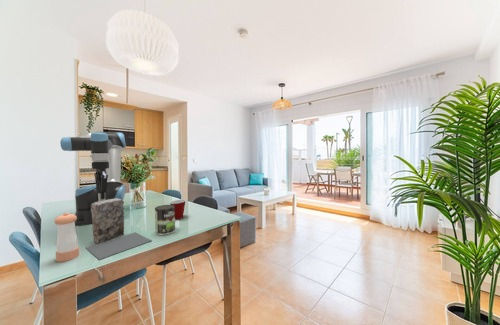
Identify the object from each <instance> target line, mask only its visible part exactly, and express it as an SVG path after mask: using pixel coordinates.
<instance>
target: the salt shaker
mask: <svg viewBox="0 0 500 325" xmlns="http://www.w3.org/2000/svg"><path fill="white" fill-rule="evenodd" d="M76 219H77V217H76V215H75V214H73V213H68V212H64V213H63V214H61V215H59V216H57V217H56V218H55V219H54V225H57V227H56V229H57V235H56V236H57V237H56V243H55V245H56V251H55V261H56V262H57V263H63V262H68V261H70V260H74V259H76V258H77V257H79V256H80V249H79V248H80V247H79V245H78V236H77V233H76V232H77V231H76V225H75V222H74V221H76Z"/></svg>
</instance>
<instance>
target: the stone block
mask: <svg viewBox="0 0 500 325" xmlns="http://www.w3.org/2000/svg"><path fill="white" fill-rule="evenodd" d="M124 210H125V208H124V199H123V200H121V199H118V198H114V199H108V200H103V201H99V202H94V203H92V204H91V214H92V222H93V223H92V234H93V242H94V243H95V244H99V243H102V242H105V241H108V240H112V239H115V238H118V237H122V236H125V235H124V234H125V216H124V215H125V212H124Z"/></svg>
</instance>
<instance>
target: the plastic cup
mask: <svg viewBox="0 0 500 325" xmlns="http://www.w3.org/2000/svg"><path fill="white" fill-rule="evenodd" d="M186 201H187V200H186V199H176V200H171V201H169V202H168V203H169V205H174V206H175V220H181V218H182V219H183V218H184V213H185V205H186Z"/></svg>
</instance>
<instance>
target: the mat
mask: <svg viewBox="0 0 500 325" xmlns="http://www.w3.org/2000/svg"><path fill="white" fill-rule="evenodd" d="M150 242H152V239H150V238H148V237H146V236H144V235H142V234H140V233H137V232H131V233H129V234H125V235H121V236H118V237H116V238H113V239H111V240H108V241H105V242H102V243H95V244H93V245H89V246H86V247H85V249H86V251H87V252H89V253H90V254H91V255H92V256H94V257H95V258H96V259H97V260H98V261H101V260H105V259H106V258H110V257H113V256H115V255H117V254H120V253H123V252H127V251H128V250H133V249H135V248H137V247H140V246H142V245H145V244H147V243H150Z"/></svg>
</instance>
